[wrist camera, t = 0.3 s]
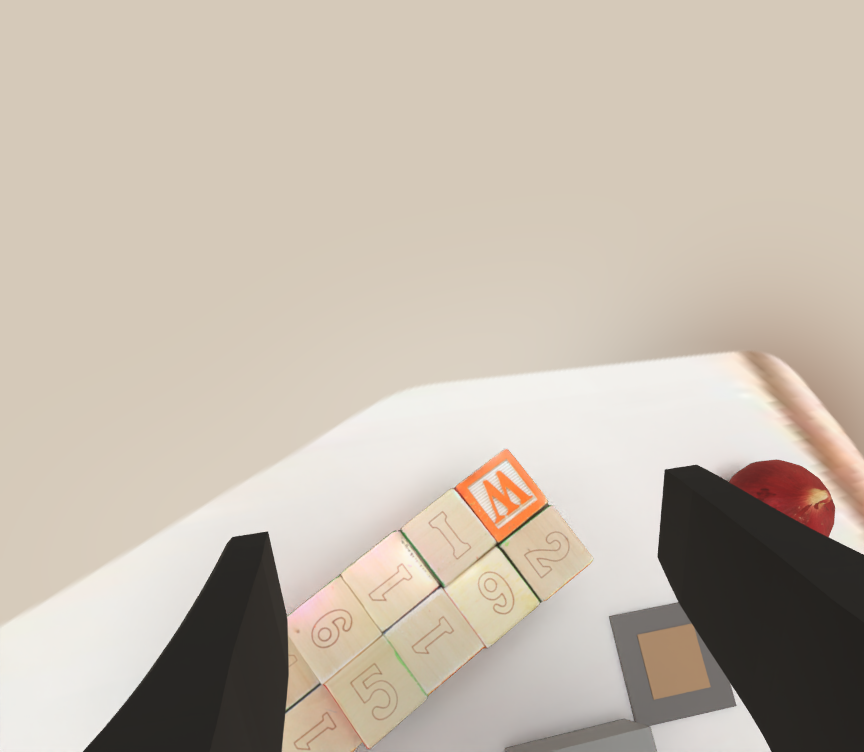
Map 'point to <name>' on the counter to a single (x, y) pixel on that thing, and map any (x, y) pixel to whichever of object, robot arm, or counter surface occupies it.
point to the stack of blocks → (423, 607)
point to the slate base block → (596, 739)
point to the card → (668, 666)
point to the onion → (789, 492)
